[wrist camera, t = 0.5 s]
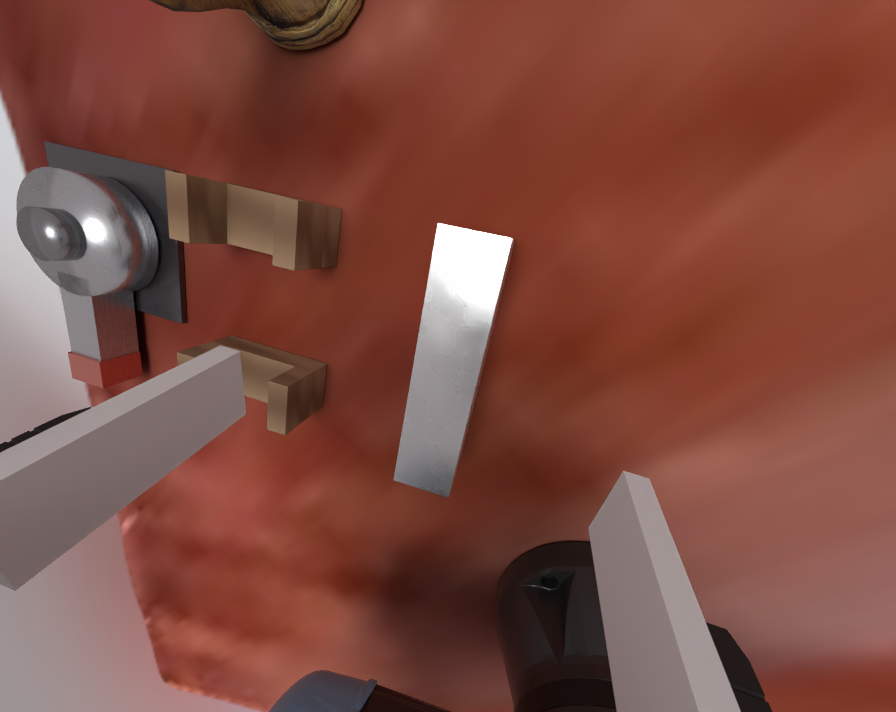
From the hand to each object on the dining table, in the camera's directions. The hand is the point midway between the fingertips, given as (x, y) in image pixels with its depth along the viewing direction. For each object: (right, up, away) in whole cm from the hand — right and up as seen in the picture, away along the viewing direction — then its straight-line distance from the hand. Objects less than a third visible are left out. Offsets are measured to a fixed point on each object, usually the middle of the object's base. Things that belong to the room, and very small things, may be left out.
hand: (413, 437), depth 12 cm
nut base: (-26, +13, +17) cm, 34 cm away
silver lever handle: (-27, +9, +18) cm, 34 cm away
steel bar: (+2, +3, +14) cm, 15 cm away
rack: (-12, +7, +16) cm, 21 cm away
